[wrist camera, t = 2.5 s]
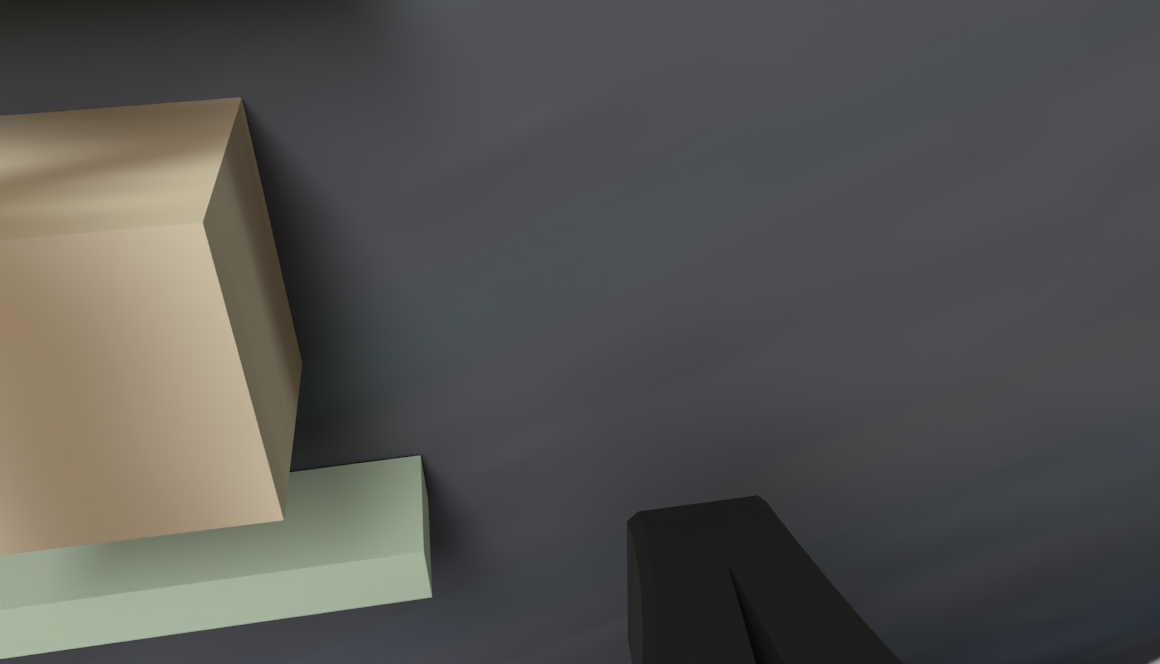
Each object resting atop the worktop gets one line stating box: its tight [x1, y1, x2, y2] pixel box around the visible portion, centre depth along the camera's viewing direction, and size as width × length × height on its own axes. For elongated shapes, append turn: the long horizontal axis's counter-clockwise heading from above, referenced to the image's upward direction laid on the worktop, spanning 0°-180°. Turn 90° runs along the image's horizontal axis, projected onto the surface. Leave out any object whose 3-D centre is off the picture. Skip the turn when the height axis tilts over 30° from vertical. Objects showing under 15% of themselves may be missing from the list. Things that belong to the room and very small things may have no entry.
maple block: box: [0, 97, 302, 555], centre depth 15 cm, size 5×5×4 cm
